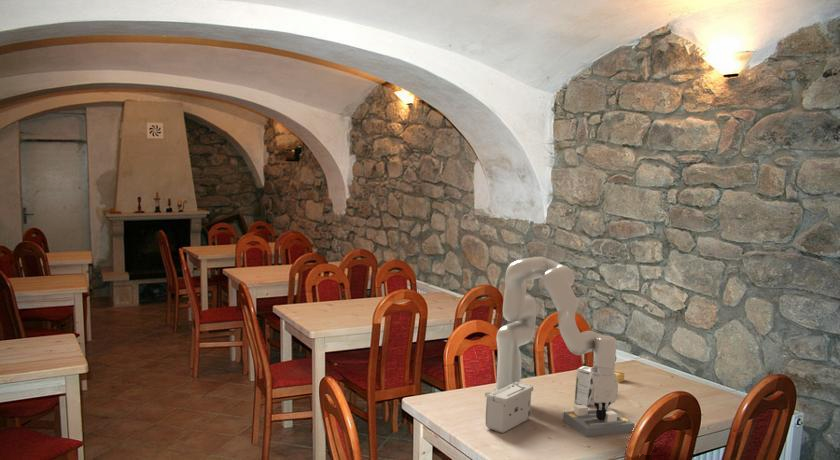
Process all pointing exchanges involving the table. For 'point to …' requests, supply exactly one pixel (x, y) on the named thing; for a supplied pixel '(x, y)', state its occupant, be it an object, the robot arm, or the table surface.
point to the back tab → (580, 410)
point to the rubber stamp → (619, 375)
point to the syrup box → (582, 385)
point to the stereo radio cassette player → (508, 406)
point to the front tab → (610, 416)
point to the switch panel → (597, 423)
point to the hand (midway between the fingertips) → (600, 419)
